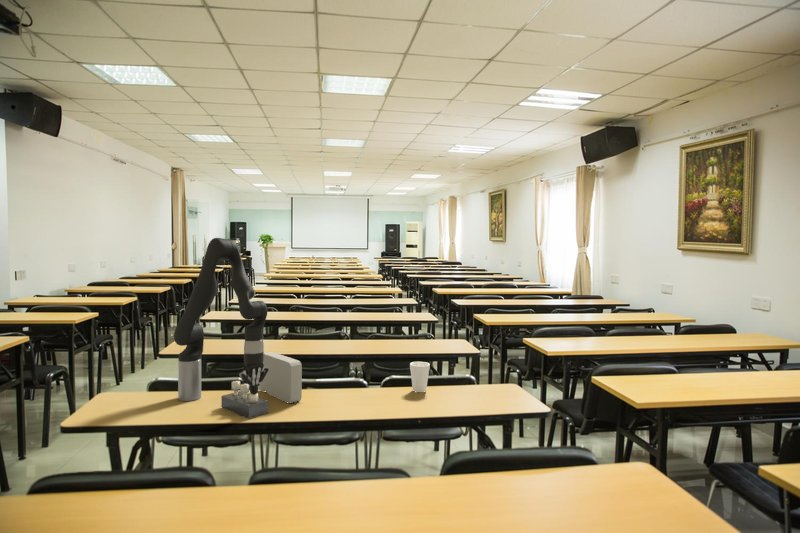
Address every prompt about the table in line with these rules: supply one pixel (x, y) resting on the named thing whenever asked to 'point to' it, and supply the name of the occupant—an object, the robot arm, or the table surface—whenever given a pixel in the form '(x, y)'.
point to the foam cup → (419, 375)
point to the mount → (244, 405)
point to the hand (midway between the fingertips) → (253, 393)
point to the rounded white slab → (282, 377)
